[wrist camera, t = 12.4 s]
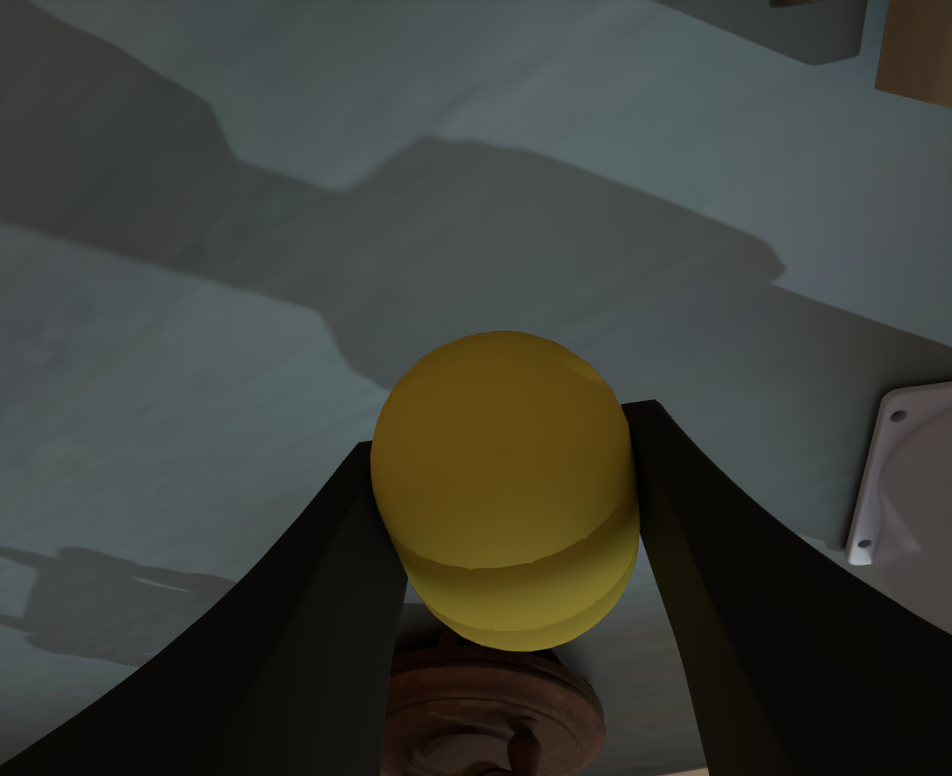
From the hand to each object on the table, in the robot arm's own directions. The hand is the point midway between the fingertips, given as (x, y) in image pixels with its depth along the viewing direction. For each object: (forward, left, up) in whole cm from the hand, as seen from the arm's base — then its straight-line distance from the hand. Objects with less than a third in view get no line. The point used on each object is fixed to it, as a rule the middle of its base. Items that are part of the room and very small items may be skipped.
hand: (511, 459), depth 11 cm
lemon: (0, 0, -1) cm, 1 cm away
